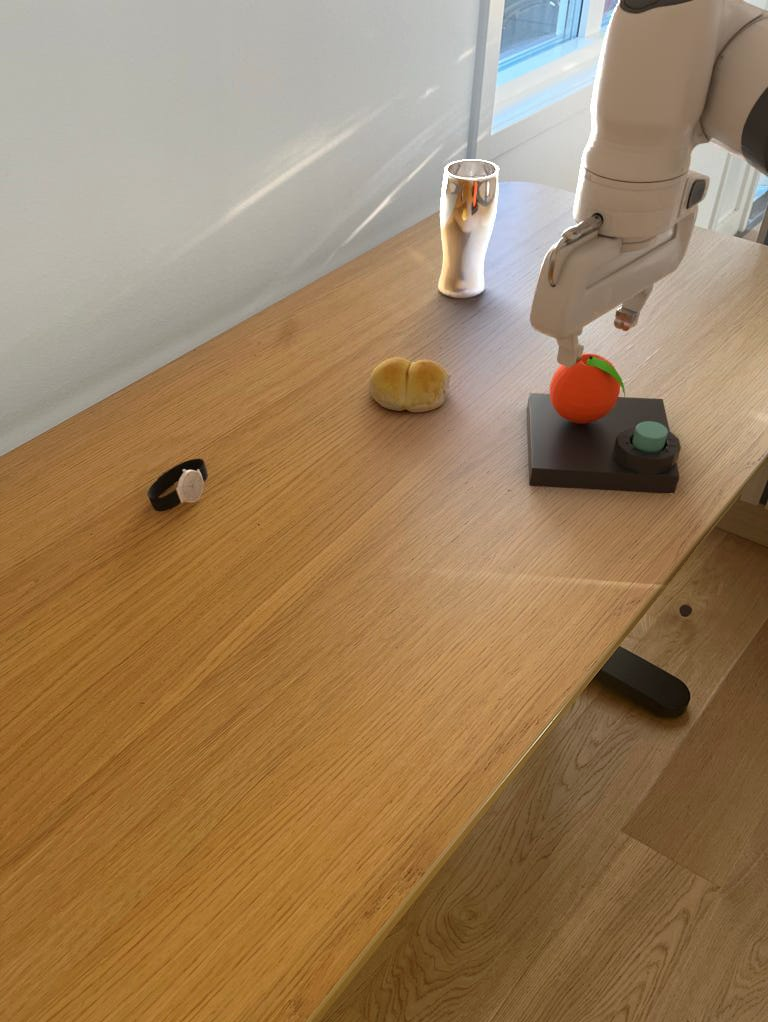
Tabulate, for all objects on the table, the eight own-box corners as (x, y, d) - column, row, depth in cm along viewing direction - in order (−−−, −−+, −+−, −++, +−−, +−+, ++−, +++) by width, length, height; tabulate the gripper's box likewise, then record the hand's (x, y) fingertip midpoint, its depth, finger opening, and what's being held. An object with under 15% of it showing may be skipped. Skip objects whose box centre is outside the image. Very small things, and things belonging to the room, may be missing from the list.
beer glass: (431, 298, 124) (439, 178, 113) (438, 274, 128) (446, 157, 118) (484, 301, 122) (498, 181, 112) (489, 277, 127) (503, 159, 116)
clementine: (634, 421, 98) (650, 358, 93) (596, 449, 95) (611, 386, 90) (569, 393, 102) (581, 332, 97) (531, 419, 99) (541, 357, 94)
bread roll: (377, 373, 111) (378, 341, 108) (452, 381, 109) (455, 350, 106) (360, 410, 106) (360, 378, 103) (439, 420, 104) (441, 388, 101)
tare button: (661, 436, 94) (666, 421, 92) (665, 454, 92) (669, 439, 90) (630, 435, 94) (634, 420, 93) (633, 452, 92) (637, 437, 91)
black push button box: (657, 416, 103) (667, 383, 100) (674, 494, 93) (684, 460, 90) (526, 410, 104) (531, 377, 102) (528, 486, 95) (534, 453, 92)
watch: (174, 523, 93) (170, 493, 91) (138, 508, 95) (132, 479, 92) (220, 482, 98) (217, 453, 95) (184, 469, 99) (179, 440, 97)
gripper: (588, 247, 76) (560, 398, 86) (721, 174, 85) (682, 318, 95) (524, 226, 79) (504, 374, 89) (658, 157, 88) (627, 298, 98)
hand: (597, 344), depth 92 cm, fingers open, 8 cm apart
